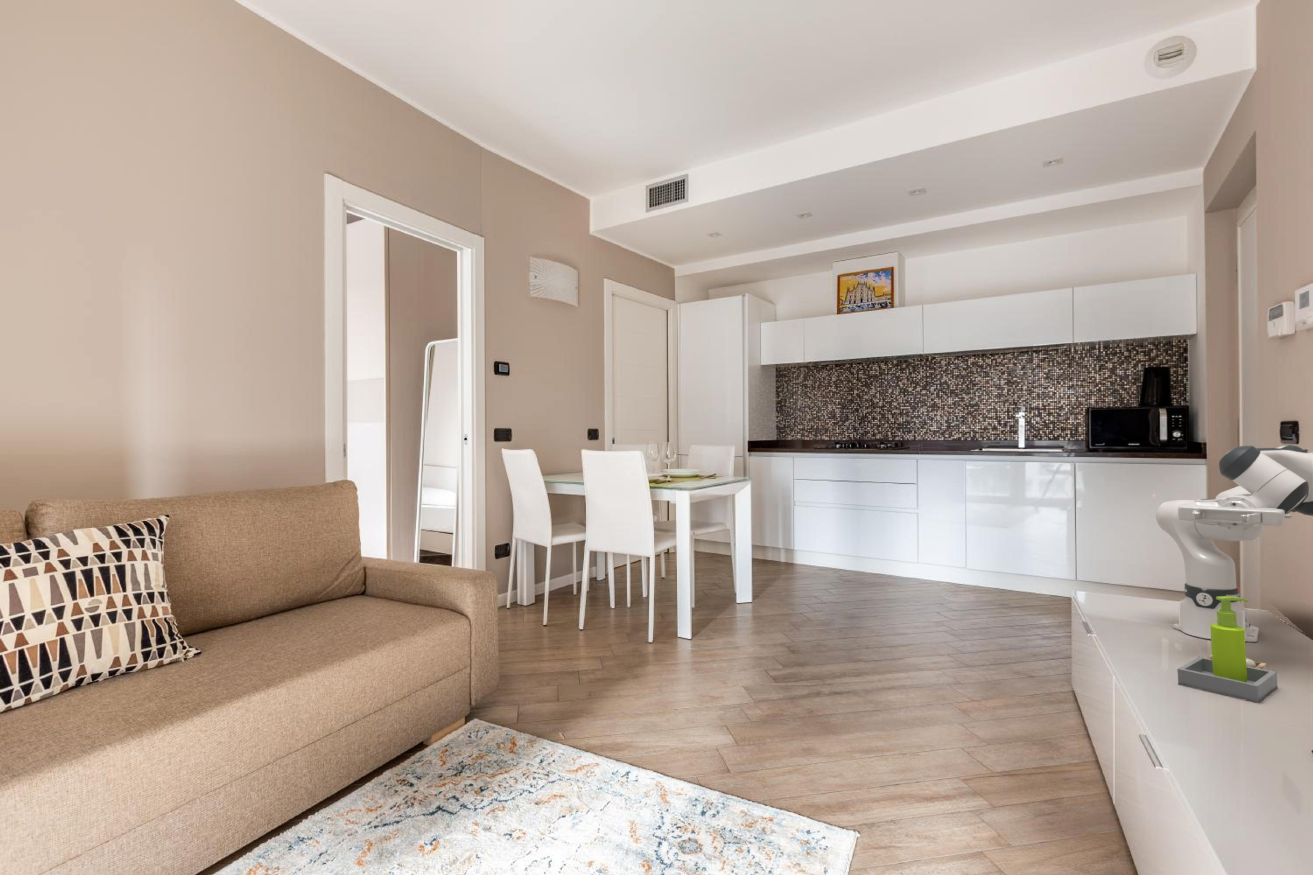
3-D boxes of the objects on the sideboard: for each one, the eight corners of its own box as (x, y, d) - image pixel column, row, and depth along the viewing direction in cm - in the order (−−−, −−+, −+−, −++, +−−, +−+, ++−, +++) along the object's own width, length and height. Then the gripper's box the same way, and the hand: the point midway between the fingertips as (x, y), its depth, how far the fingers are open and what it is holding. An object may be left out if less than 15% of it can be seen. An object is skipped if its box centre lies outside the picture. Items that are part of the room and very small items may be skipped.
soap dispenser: (1259, 688, 142) (1254, 600, 143) (1224, 687, 144) (1219, 599, 144) (1241, 679, 148) (1236, 594, 149) (1207, 678, 149) (1202, 593, 150)
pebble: (1241, 667, 156) (1241, 655, 156) (1258, 671, 153) (1257, 658, 153) (1237, 670, 154) (1237, 658, 154) (1254, 673, 151) (1253, 661, 151)
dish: (1199, 671, 156) (1199, 656, 156) (1277, 687, 144) (1276, 671, 144) (1178, 684, 148) (1177, 668, 148) (1258, 702, 136) (1257, 686, 137)
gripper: (1294, 528, 155) (1278, 534, 147) (1190, 522, 172) (1170, 526, 164) (1293, 502, 155) (1276, 507, 147) (1189, 498, 172) (1169, 502, 165)
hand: (1219, 517), depth 156 cm, fingers open, 8 cm apart
